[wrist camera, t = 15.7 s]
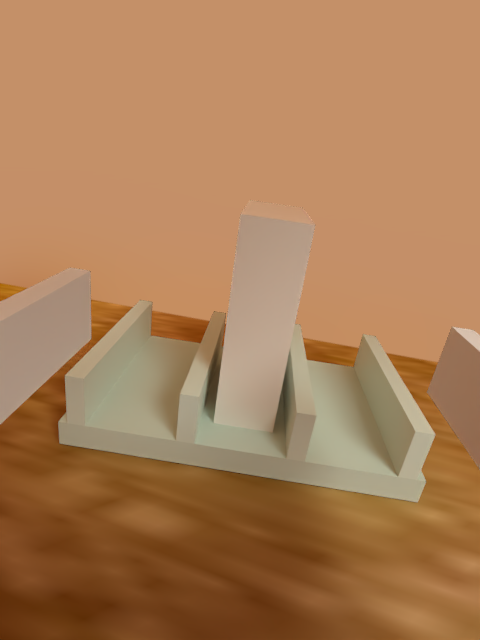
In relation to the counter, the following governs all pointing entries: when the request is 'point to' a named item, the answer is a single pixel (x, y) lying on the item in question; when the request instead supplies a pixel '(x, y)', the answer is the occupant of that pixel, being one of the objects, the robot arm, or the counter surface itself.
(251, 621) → the counter surface
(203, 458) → the slotted rack base
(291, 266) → the beige rectangular block
